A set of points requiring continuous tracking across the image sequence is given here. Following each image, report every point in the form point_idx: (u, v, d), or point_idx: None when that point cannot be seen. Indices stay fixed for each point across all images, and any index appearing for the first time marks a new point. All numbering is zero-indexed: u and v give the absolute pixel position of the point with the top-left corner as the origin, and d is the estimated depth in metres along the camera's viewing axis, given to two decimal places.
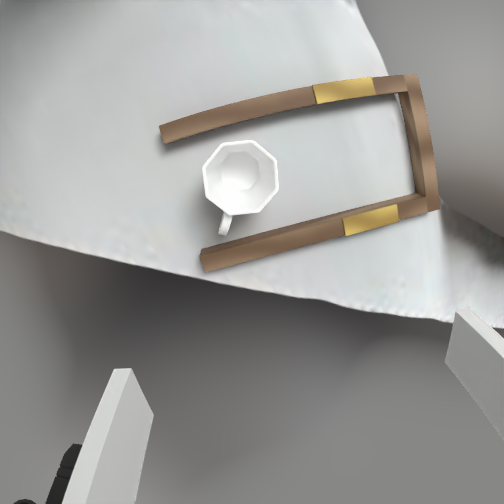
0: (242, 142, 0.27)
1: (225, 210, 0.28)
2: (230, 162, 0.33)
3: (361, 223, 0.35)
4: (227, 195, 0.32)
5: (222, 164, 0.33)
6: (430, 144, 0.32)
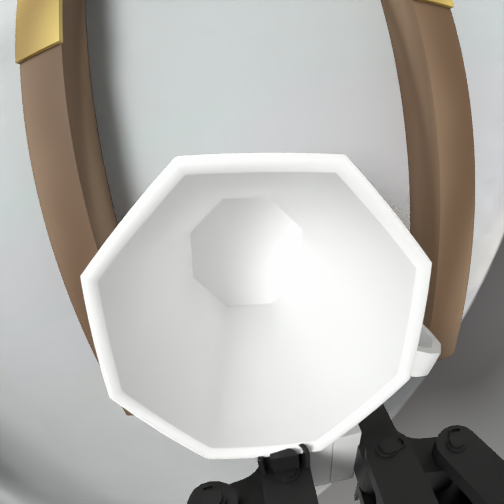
0: (95, 322, 0.05)
1: (388, 394, 0.06)
2: (220, 277, 0.12)
3: None
4: (319, 322, 0.09)
5: (224, 299, 0.12)
6: None
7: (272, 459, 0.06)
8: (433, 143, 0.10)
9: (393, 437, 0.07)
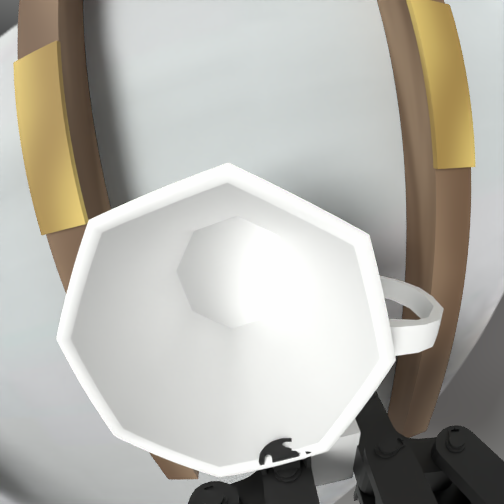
0: (79, 374, 0.06)
1: (376, 381, 0.06)
2: (217, 304, 0.12)
3: (455, 114, 0.09)
4: (310, 322, 0.09)
5: (227, 322, 0.13)
6: None
7: (273, 459, 0.06)
8: None
9: (392, 437, 0.07)
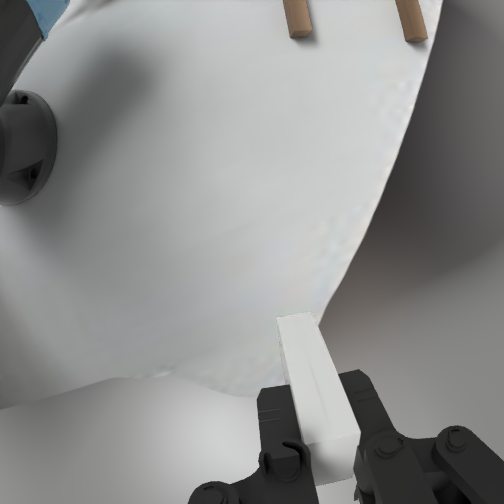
0: None
1: None
2: None
3: None
4: None
5: None
6: None
7: (273, 459, 0.06)
8: None
9: (392, 437, 0.07)
